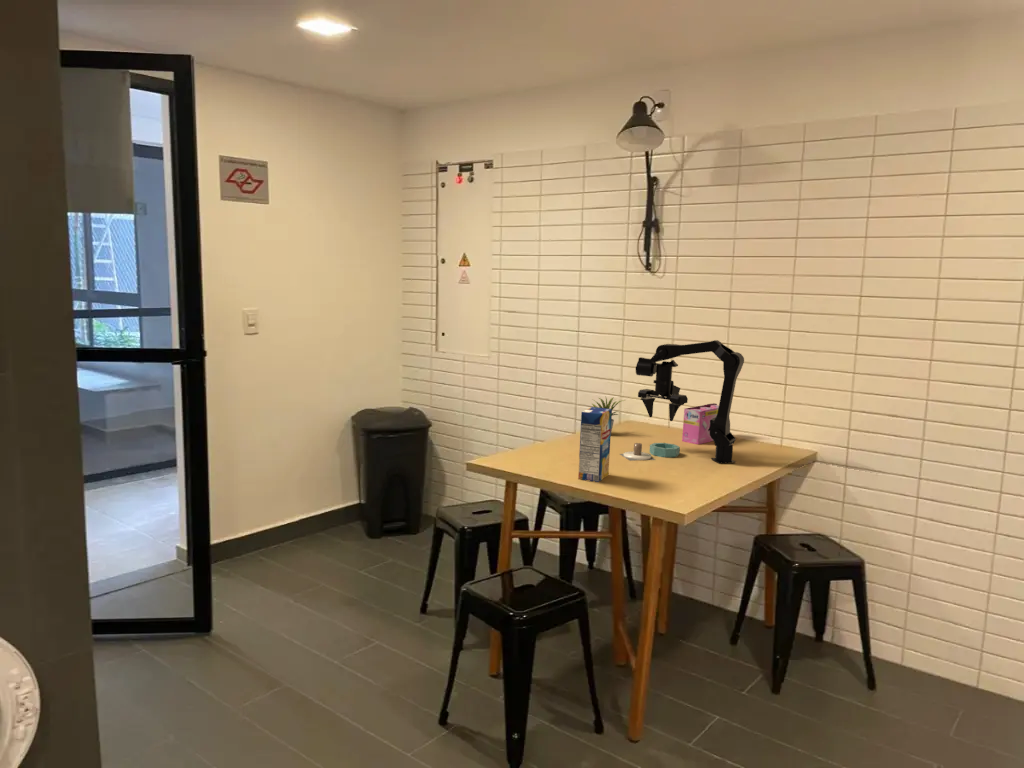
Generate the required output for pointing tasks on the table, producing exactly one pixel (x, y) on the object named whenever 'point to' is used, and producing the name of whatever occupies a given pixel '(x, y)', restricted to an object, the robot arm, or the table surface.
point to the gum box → (698, 423)
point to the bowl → (664, 450)
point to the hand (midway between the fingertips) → (660, 419)
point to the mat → (635, 460)
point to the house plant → (608, 407)
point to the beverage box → (595, 444)
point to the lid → (637, 453)
